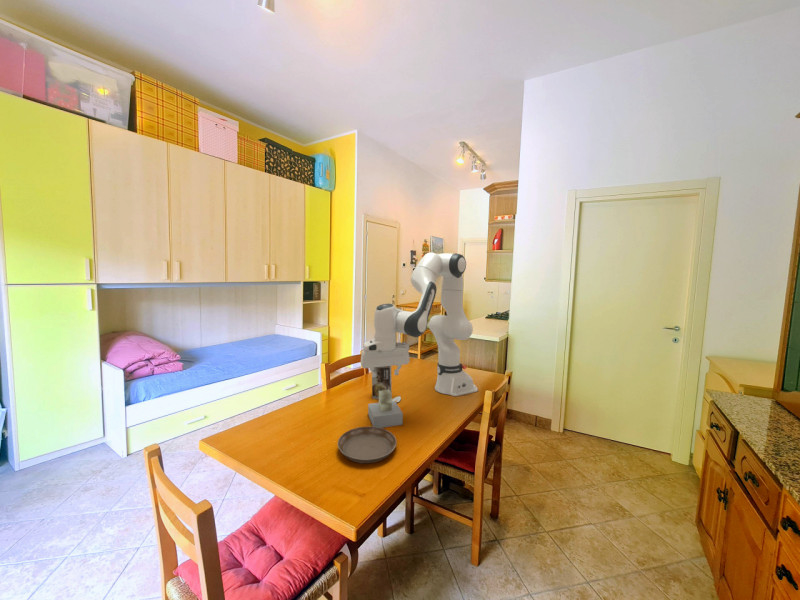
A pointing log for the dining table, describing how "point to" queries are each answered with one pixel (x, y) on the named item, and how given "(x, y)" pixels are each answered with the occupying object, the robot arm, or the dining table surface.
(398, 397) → the spoon
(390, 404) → the sage block
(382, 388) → the coffee box
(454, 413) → the dining table surface
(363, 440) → the plant saucer
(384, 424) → the plinth
